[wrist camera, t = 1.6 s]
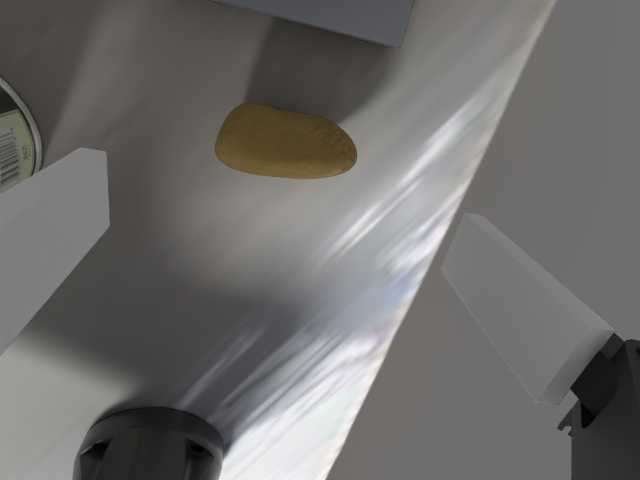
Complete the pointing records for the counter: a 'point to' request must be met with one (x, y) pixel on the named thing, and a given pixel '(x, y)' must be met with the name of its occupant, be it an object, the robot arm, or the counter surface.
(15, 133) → the coffee can
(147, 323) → the counter surface
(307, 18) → the scale base
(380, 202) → the counter surface
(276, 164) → the potato
